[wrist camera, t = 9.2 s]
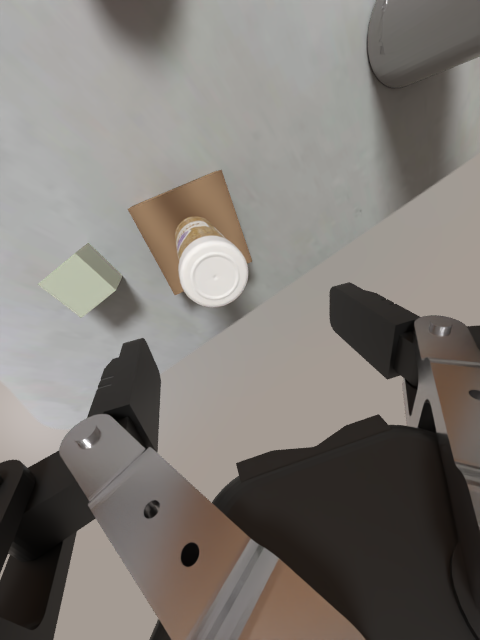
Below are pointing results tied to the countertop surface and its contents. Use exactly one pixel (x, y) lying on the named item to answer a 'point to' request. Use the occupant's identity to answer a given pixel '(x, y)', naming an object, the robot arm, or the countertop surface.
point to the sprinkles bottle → (209, 264)
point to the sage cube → (82, 281)
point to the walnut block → (175, 206)
